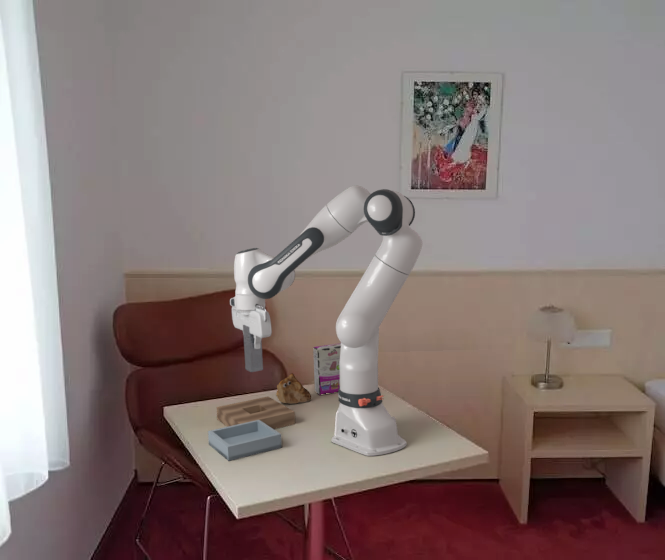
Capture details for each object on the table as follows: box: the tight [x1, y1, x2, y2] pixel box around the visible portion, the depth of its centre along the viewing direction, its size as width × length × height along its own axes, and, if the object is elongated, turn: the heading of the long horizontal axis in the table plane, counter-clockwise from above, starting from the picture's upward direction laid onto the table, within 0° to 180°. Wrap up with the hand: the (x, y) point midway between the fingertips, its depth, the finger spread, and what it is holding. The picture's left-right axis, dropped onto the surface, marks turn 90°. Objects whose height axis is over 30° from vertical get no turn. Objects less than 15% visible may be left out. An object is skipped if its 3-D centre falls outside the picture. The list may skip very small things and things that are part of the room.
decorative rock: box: [275, 372, 312, 405], centre depth 232 cm, size 12×6×11 cm, turn 119°
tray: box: [207, 420, 283, 462], centre depth 196 cm, size 14×16×4 cm
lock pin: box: [242, 325, 264, 373], centre depth 212 cm, size 4×4×14 cm
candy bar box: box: [312, 342, 341, 396], centre depth 243 cm, size 11×5×16 cm, turn 114°
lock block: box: [216, 396, 296, 430], centre depth 216 cm, size 18×18×4 cm
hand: (253, 346), depth 212 cm, fingers closed on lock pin, 4 cm apart
